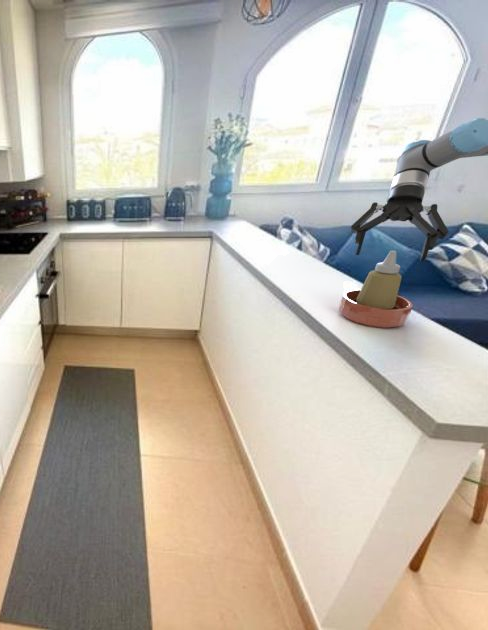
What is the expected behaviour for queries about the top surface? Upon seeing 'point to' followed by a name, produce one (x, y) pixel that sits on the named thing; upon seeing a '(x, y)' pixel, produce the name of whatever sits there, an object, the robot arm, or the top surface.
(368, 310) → the bowl
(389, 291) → the squeeze bottle
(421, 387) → the top surface
